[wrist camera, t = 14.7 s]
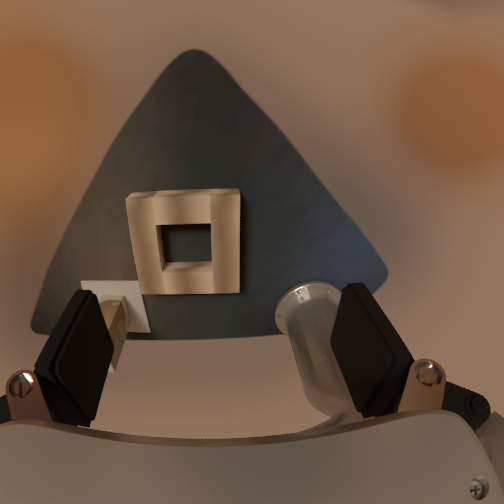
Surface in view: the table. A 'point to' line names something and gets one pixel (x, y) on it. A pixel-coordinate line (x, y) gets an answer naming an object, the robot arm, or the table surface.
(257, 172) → the table surface
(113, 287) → the mat
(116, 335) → the skincare box
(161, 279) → the holder
